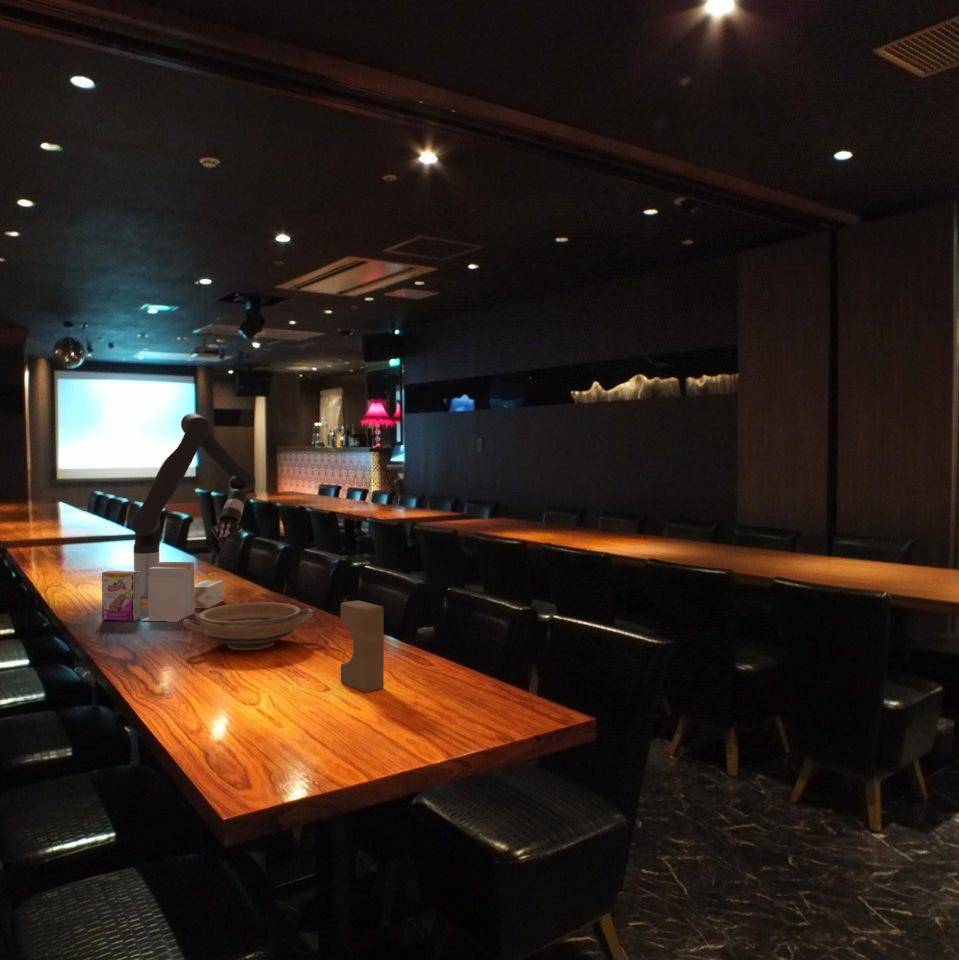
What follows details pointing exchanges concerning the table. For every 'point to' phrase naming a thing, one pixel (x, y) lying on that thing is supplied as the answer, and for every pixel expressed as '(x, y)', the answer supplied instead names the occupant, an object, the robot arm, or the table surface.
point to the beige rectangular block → (208, 593)
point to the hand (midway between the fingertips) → (221, 546)
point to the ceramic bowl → (249, 623)
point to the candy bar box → (121, 595)
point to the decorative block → (364, 646)
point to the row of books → (170, 591)
